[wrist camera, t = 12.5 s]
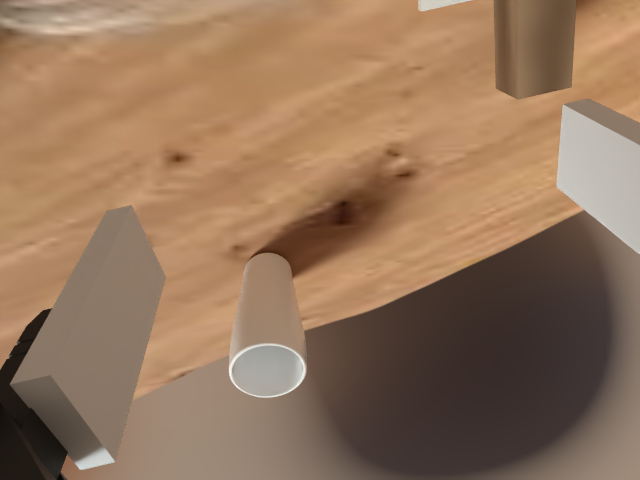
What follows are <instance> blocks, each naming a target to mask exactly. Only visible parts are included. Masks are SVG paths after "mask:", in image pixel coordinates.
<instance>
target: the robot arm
mask: <svg viewBox="0 0 640 480" xmlns="http://www.w3.org/2000/svg"><path fill="white" fill-rule="evenodd" d="M556 187H557V188H559V189H560V190H561V191H562V192H564V193H565V194H566V195H567V196H568V197H570V198H571V199H572V200H573V201H575V202H576V203H577V204H578V205H579V206H581V207H582V208H583V209H584V210H586V211H587V212H588V213H589V214H590V215H592V216H593V217H595V219H597V220H598V221H599V222H600V223H601V224H603V225H604V226H605V227H606V228H608V229H609V230H610V231H611V232H613V233H614V234H615V235H616V236H617V237H619V238H620V239H621V240H622V241H624V242H625V243H626V244H627V245H628V246H630V247H631V248H632V249H633V250H635V251H636V252H637V253H638V254H639V255H640V123H639V122H637V121H635V120H633V119H631V118H629V117H627V116H624V115H622V114H620V113H618V112H616V111H614V110H612V109H610V108H607V107H605V106H603V105H601V104H599V103H597V102H595V101H593V100H590V99H584V100H580V101H575V102H571V103H567V104H563V109H562V122H561V135H560V148H559V160H558V173H557V186H556ZM165 278H166V277H165V274H164V272H163V270H162V268H161V266H160V264H159V262H158V260H157V258H156V256H155V253H154V251H153V249H152V247H151V245H150V243H149V241H148V239H147V237H146V234H145V232H144V230H143V228H142V226H141V224H140V222H139V220H138V218H137V216H136V213H135V211H134V209H133V207H132V205H130V206H126V207H122V208H118V209H113V210H109V211H106V213H105V215H104V217H103V219H102V220H101V222H100V224H99V226H98V228H97V229H96V231H95V233H94V235H93V236H92V238H91V240H90V242H89V244H88V245H87V247H86V249H85V251H84V253H83V254H82V256H81V258H80V260H79V261H78V263H77V265H76V267H75V269H74V270H73V272H72V274H71V276H70V278H69V279H68V281H67V283H66V285H65V286H64V288H63V290H62V292H61V294H60V295H59V297H58V299H57V301H56V303H55V304H54V306H53V308H51V309H47V310H43V311H42V312H41V313H40V314H39V315H38V316H37V317H36V318H35V319H34V320H33V321H32V322H30V323H29V324H28V325H27V326H26V328H25V330H24V331H23V333H22V335H21V336H20V338H19V340H18V341H17V345H16V346H14V348H13V350H12V351H11V353H10V355H9V359H7V360H6V361H5V363H4V365H3V366H2V368H1V370H0V480H67V479H66V478H65V476H64V475H63V474H62V473H61V469H62V466H63V464H64V461H65V458H66V456H67V454H68V456H69V457H70V458H71V459H72V460H73V462H74V463H75V464H76V465H77V466H78V468H79V469H80V470H82V469H87V468H91V467H96V466H100V465H104V464H109V463H113V462H115V461H116V458H117V454H118V450H119V447H120V443H121V439H122V436H123V432H124V428H125V425H126V421H127V417H128V414H129V410H130V406H131V403H132V399H133V396H134V392H135V388H136V385H137V381H138V377H139V374H140V370H141V366H142V363H143V359H144V355H145V352H146V348H147V344H148V341H149V337H150V333H151V330H152V326H153V322H154V319H155V315H156V311H157V308H158V304H159V300H160V297H161V293H162V289H163V286H164V282H165Z"/></svg>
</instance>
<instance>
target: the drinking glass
mask: <svg viewBox="0 0 640 480" xmlns="http://www.w3.org/2000/svg"><path fill="white" fill-rule="evenodd" d="M306 370H307V366H306V345H305V337H304V330H303V325H302V320H301V316H300V311H299V307H298V303H297V298H296V293H295V289H294V284H293V278H292V269H291V266H290V264H289V263H288V261H287V260H286V259H285V258H283V257H282V256H280V255H278V254H274V253H261V254H258V255H256V256H254V257H252V258H251V259H250V260H249V261H248V262H247V264H246V266H245V268H244V272H243V282H242V287H241V292H240V296H239V301H238V306H237V310H236V315H235V319H234V324H233V329H232V334H231V342H230V352H229V375H230V378H231V380H232V382H233V383H234V385H235V386H236V387H237V388H238V389H240V390H241V391H243V392H244V393H247V394H249V395H252V396H256V397H276V396H280V395H284V394H286V393H288V392H290V391H292V390H294V389H295V388H296V387H298V386H299V385H300V383H301V382H302V381H303V379H304V377H305V375H306Z"/></svg>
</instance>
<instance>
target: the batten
mask: <svg viewBox="0 0 640 480" xmlns="http://www.w3.org/2000/svg"><path fill="white" fill-rule="evenodd" d="M575 16H576V0H494V27H495V73H496V89H498V90H500V91H502V92H504V93H506V94H508V95H510V96H512V97H514V98H516V99H522V98H526V97H531V96H535V95H540V94H544V93H548V92H553V91H557V90H562V89H566V88H570V87H572V70H573V52H574V34H575Z"/></svg>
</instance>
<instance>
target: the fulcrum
mask: <svg viewBox="0 0 640 480" xmlns="http://www.w3.org/2000/svg"><path fill="white" fill-rule="evenodd" d="M466 1H470V0H418V9H419V10H420V11H426V10H430V9H435V8H439V7H444V6H448V5H452V4H457V3H461V2H466Z"/></svg>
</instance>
